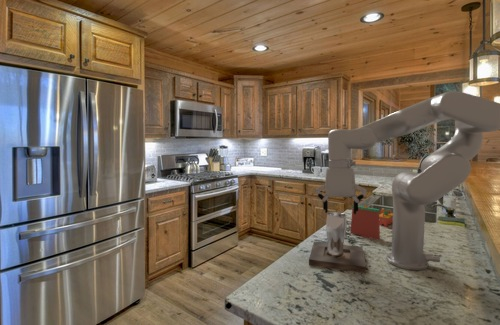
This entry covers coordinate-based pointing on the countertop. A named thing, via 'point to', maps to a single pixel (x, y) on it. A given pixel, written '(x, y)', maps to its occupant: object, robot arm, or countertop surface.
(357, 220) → the toy building block set
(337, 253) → the beer glass
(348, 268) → the coaster board
